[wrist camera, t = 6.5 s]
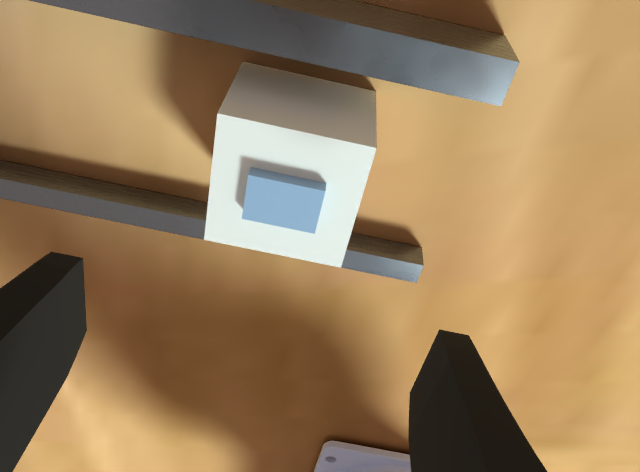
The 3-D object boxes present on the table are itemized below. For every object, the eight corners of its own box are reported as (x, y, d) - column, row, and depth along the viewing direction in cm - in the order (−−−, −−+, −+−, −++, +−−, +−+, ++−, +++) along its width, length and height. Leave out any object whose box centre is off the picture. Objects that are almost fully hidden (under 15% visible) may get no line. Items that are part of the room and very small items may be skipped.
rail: (414, 264, 21) (420, 324, 19) (-79, 162, 20) (-140, 213, 18) (505, 35, 16) (527, 77, 14) (-148, -117, 15) (-246, -99, 13)
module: (345, 199, 20) (340, 276, 17) (228, 174, 20) (200, 248, 16) (375, 89, 18) (376, 156, 14) (243, 59, 17) (213, 120, 14)
